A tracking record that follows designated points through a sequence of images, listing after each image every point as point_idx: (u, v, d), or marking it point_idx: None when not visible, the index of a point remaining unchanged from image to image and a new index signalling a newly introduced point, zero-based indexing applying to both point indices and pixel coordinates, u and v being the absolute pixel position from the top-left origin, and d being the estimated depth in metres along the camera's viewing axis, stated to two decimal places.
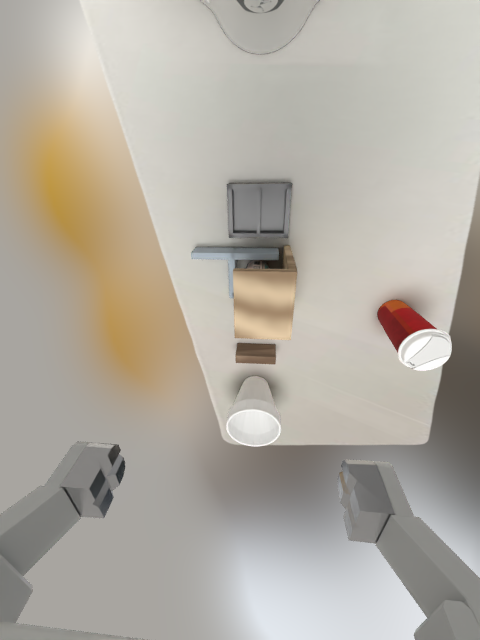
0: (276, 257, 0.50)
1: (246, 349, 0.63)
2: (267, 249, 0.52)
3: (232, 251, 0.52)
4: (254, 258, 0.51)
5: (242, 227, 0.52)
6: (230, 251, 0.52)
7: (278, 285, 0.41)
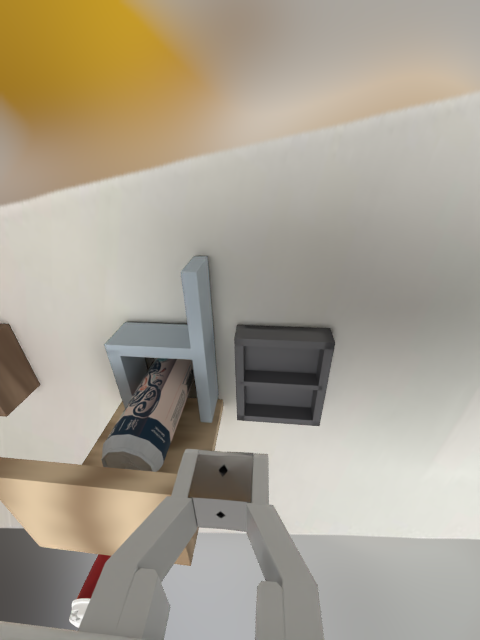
0: (204, 419, 0.28)
1: None
2: (215, 388, 0.30)
3: (207, 347, 0.25)
4: (199, 390, 0.26)
5: (252, 349, 0.28)
6: (207, 344, 0.25)
7: None
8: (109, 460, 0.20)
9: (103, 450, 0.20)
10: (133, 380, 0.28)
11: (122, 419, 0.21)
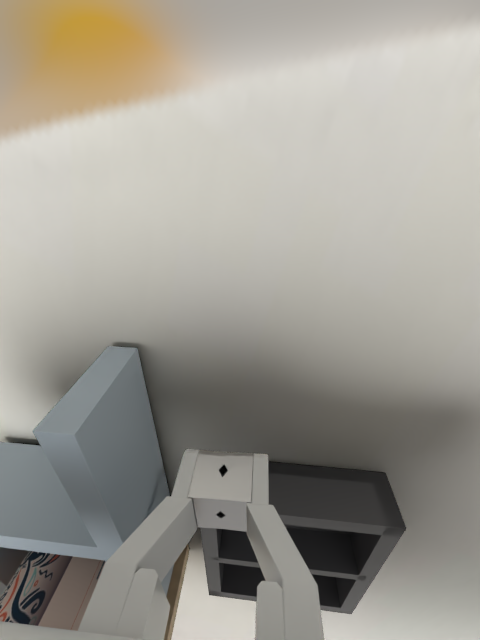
0: None
1: None
2: None
3: None
4: None
5: None
6: (140, 520, 0.12)
7: None
8: None
9: None
10: (12, 553, 0.15)
11: None
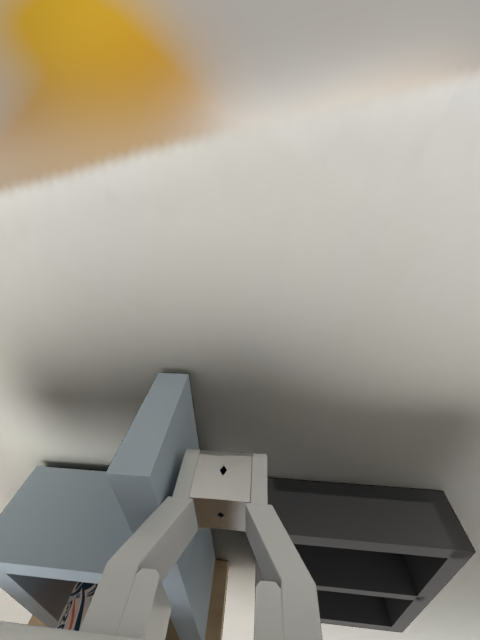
0: None
1: None
2: (210, 567, 0.17)
3: (192, 551, 0.12)
4: (176, 620, 0.13)
5: None
6: (191, 548, 0.12)
7: None
8: None
9: None
10: (53, 579, 0.15)
11: None
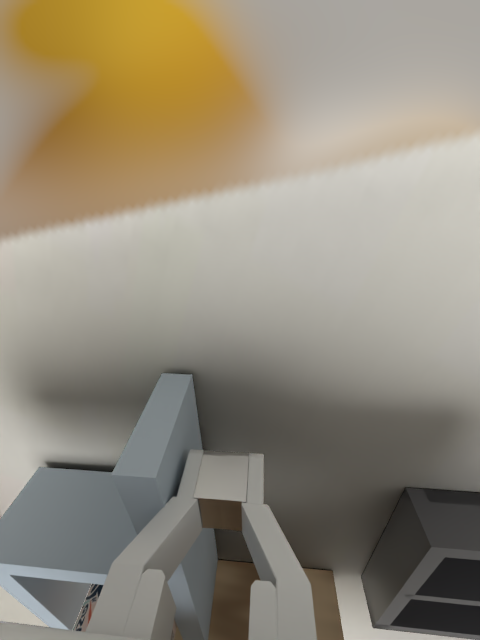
0: None
1: None
2: (212, 567, 0.17)
3: (196, 551, 0.12)
4: (179, 620, 0.13)
5: None
6: (194, 548, 0.12)
7: None
8: None
9: None
10: (56, 580, 0.15)
11: None
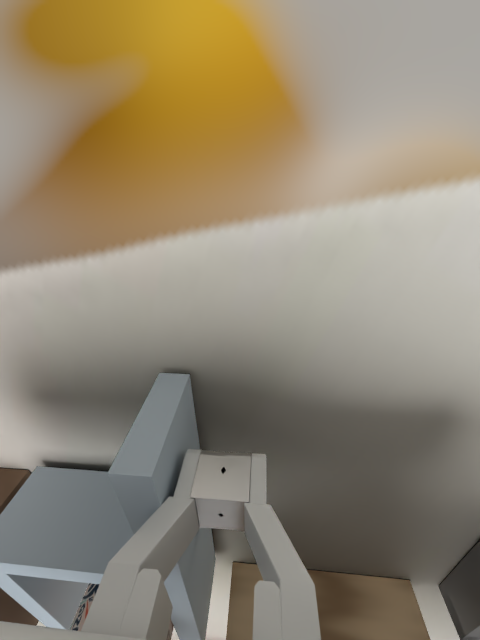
0: None
1: None
2: (210, 567, 0.17)
3: (192, 551, 0.12)
4: (176, 620, 0.13)
5: None
6: (191, 548, 0.12)
7: None
8: None
9: None
10: (53, 579, 0.15)
11: None
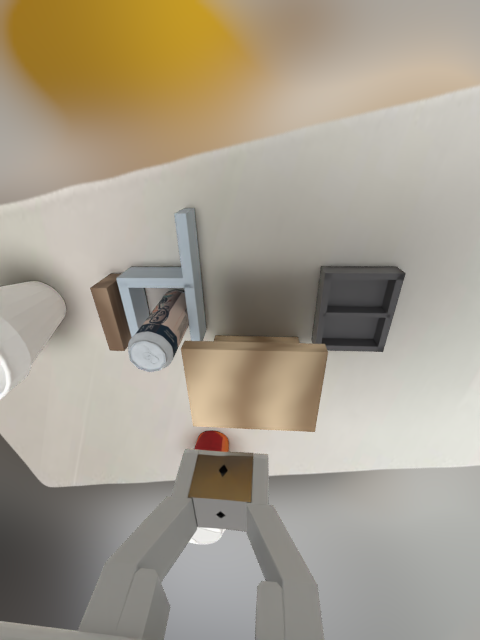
0: None
1: (120, 297, 0.35)
2: (203, 321, 0.37)
3: (196, 279, 0.33)
4: (189, 315, 0.34)
5: (331, 286, 0.34)
6: (195, 277, 0.32)
7: (293, 412, 0.25)
8: (134, 352, 0.27)
9: (129, 345, 0.28)
10: (138, 312, 0.35)
11: (141, 326, 0.29)
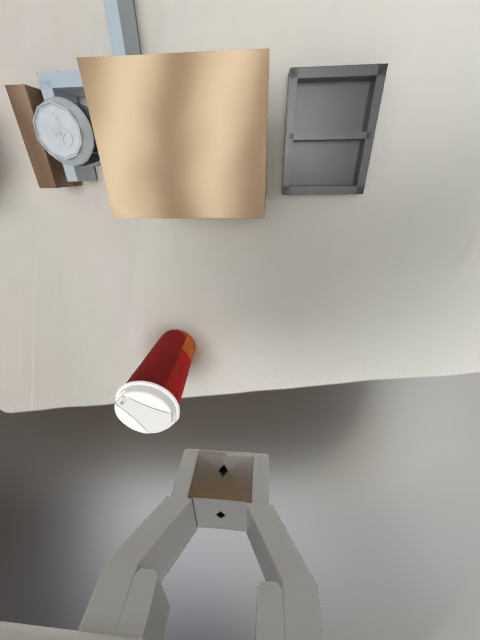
0: None
1: None
2: None
3: None
4: None
5: (301, 103, 0.29)
6: None
7: (234, 180, 0.20)
8: (40, 125, 0.22)
9: None
10: None
11: None
